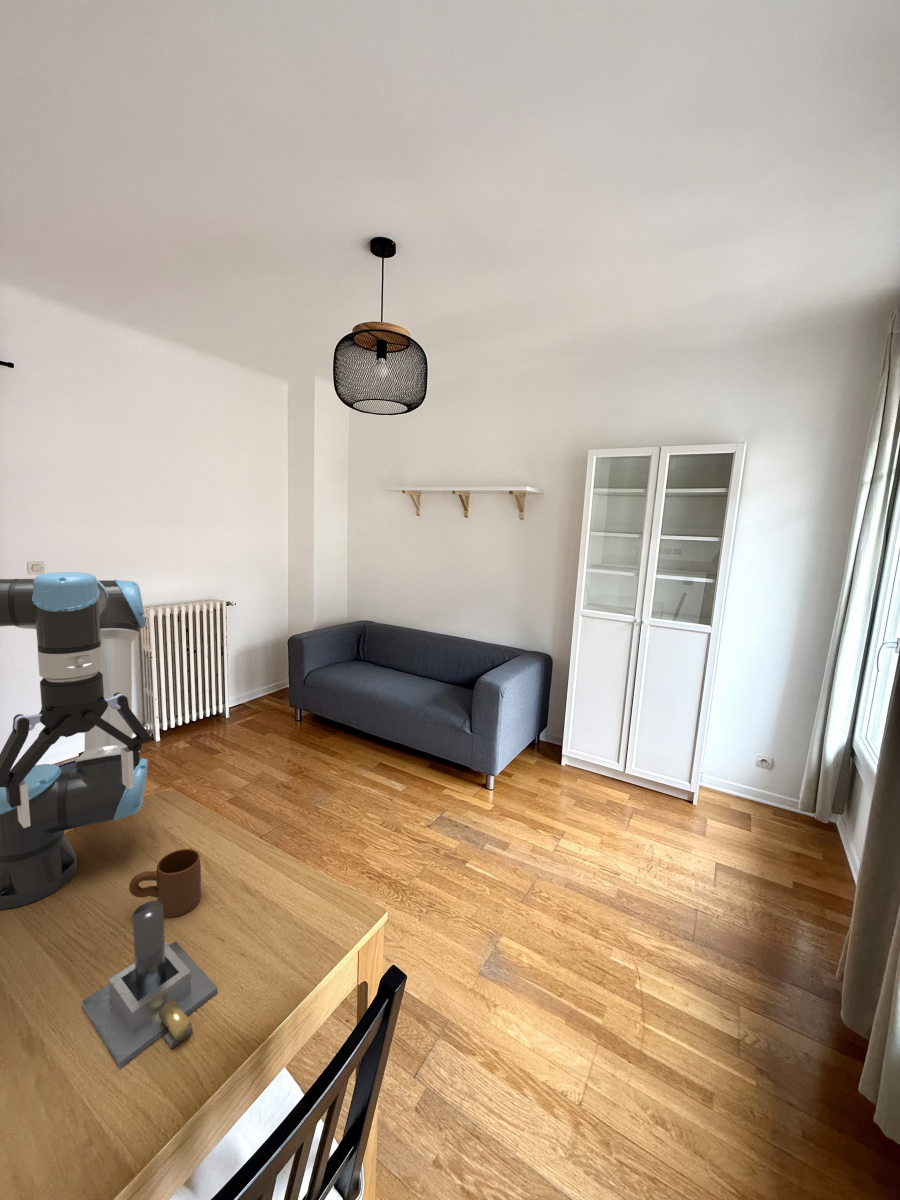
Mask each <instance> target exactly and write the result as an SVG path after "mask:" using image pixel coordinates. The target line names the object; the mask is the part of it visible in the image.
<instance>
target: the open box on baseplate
mask: <svg viewBox="0 0 900 1200" xmlns="http://www.w3.org/2000/svg"><path fill="white" fill-rule="evenodd" d="M165 970H166V982H165V983H163V984H162V985H161V986H159V987H158V988H156V989H155V990H153V991H152V992H151V993H149V994H148V995H146V996H145V997H143V998H142V999H140V1000H139V1001H137V997H136V975H135V962H134V963H132V964H130V965H129V966H127V967H126V968H124V969H123V970H121V971H119V972H117V973H116V974H115V975H113V976H111V977H110V978H109V979H108V984H106V985H105V986H102V988H100V989H99V990H97V991H95V992H94V993H92V994H90V995H89V996H88V997H86V998H84V999H83V1000H81V1007H82V1009H83V1010H84V1012H85V1013H86V1015H87V1017H88V1018H89V1019H90V1021H91V1023H92V1025H93V1027H94V1028H95V1030H96V1032H97V1033H98V1035H99V1037H100V1038H101V1040H102V1042H103V1043H104V1046H105V1047H106V1049H107V1050H108V1052H109V1053H110V1055H111V1057H112V1058H113V1060H114V1062H115V1063H116V1065H117V1067H118V1069H122V1068H123V1067H124V1066H125V1065H127V1064H128V1063H129V1062H131V1061H132V1060H133V1059H134V1058H136V1057H137V1056H138V1055H139V1054H141V1053H142V1052H143V1051H144V1050H145V1049H147V1048H148V1047H150V1046H151V1045H152V1044H154V1043H155V1042H156V1041H157V1040H159V1039H160V1038H161V1037H163V1036H164V1041H165V1042H166V1045H168V1046H169V1048H170V1049H171V1050H173V1049H174V1048H175V1047H177V1046H178V1045H179V1044H180V1043H181V1042H182V1041H183V1040H186V1039H187V1038H188V1037H189V1036H190V1035H192V1033H193V1026H192V1025H193V1023H192V1021H191V1019H190V1018H189V1017H188V1016H189V1015H191V1014H192V1013H193V1012H194V1011H196V1010H197V1009H199V1008H200V1007H201V1006H203V1004H205V1003H206V1002H207V1001H209V1000H210V999H211V998H213V997H214V996H215V995H217V994H218V986H217V985H216V984H215V983H214V982H213V981H212V980H211V979H210V977H209V976H208V975H207V974H206V973H205V972H204V970H202V969H201V967H200V966H199V965H198V964H197V963H196V962H195V961H194V959H192V957H191V956H190V955H189V954H188V953H187V951H185V950H184V948H183V947H182V946H181V945H180V944H179V943H178V942H177V941H176V940H175V941H173V942H171V943H170V944H168V943H166V942H165Z"/></svg>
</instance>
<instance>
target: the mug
mask: <svg viewBox="0 0 900 1200" xmlns="http://www.w3.org/2000/svg"><path fill="white" fill-rule="evenodd" d="M200 857H201V856H200V853H199V852H198V851H196V850H195V849H192V848H181V849H176V850H174V851H172V852H169V853H167V854H166V855H164V856H163V857H162V858H161V859H160V860H159V862H158V863H157V864H156V870H153V871H152V870H146V871H145V870H144V871H142V872H139V873H137V874H136V875H135V876H134V877H132V878H131V880H130V883H129V885H128V890H129V893H130V894H131V895H132V896H134V897H136V898H141V899H142V898H146V897H153V898H157V899H156V901H159V902H161V903H162V904H163V913H164V917H170V918H171V917H172V918H174V917H178V916H181V915H184V914H186V913H188V912H190V911H192V910H193V909H194V908H195V907H196V906H197V905H198V903H199V902H200V899H201V895H202V872H201V870H202V869H201V868H202V867H201V866H202V865H201V859H200ZM144 881H147V882H148V881H151V882H153V881H155V882H156V885H149V886H145V887H142V886H140V883H141V882H144Z"/></svg>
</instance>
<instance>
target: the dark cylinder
mask: <svg viewBox="0 0 900 1200" xmlns="http://www.w3.org/2000/svg"><path fill="white" fill-rule="evenodd" d="M132 926H133V928H132V930H133V931H132V932H133V947H134V948H133V949H134V950H133V951H134V963H135V975H136V997H137V1001H139V1000H140V999H142V998H143V997H145V996H146V995H148V994H149V993H151V992H152V991H153V990H155V989H156V988H158V987H159V986H161V985H162V984H163V983H165V982H166V970H165V943H166V942H165V916H164V913H163V904H162V903H161V902H159V901H157V900H151V901H147V902H145V903H142V904H141V905H139V906H138V907H136V909H135V910H134V911H133V913H132Z"/></svg>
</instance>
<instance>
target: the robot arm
mask: <svg viewBox="0 0 900 1200" xmlns="http://www.w3.org/2000/svg"><path fill="white" fill-rule="evenodd" d="M146 623H147V622H146V616H145V609H144V605H143V599H142V594H141V589H140V586H139V584H138V583H137V582H135V581H133V580H118V579H113V580H112V579H111V580H109V579H108V580H107V579H105V580H98V579H97V577H96V575H94V574H92V573H87V572H80V571H79V572H77V571H64V572H63V571H59V572H55V571H54V572H48V573H41V574H38V575H36V576H35V577H34V578H0V627H17V628H20V629H27V630H28V629H32V630H33V629H34V630H35V631H36V641H37V642H36V644H37V660H38V675H39V676H40V677H41V680H40V681H39V686H40V687H39V689H40V702H41V708H40V711H39V713H38V714H31V715H30V714H29V715H24V714H22V713H18V714H16V715H15V716H13V720H12V730H11V732H10V734H9V736H8V738H7V740H6V742H5V744H4V746H3V748H2V749H1V751H0V910H6V909H7V910H8V909H13V908H17V907H18V908H19V907H22V906H23V907H24V906H25V905H29V904H32V903H34V902H37V901H39V900H42V899H43V898H46V897H48V896H49V895H51V894H53V893H55V892H56V891H58V890H59V889H61V888H62V887H64V886H65V885H66V884H67V883H68V882H69V881H70V880H71V879H72V878H73V877H74V875H75V874H76V872H77V870H78V869H77V868H78V859H77V854H76V852H75V850H74V849H73V847H72V845H71V843H70V842H69V840H68V839H67V837H66V835H65V831H67V830H74V829H77V828H82V827H88V826H91V825H92V826H93V825H97V824H101V823H102V824H103V823H105V822H111V821H113V822H114V821H115V822H116V821H117V820H120V819H124V818H128V817H132V816H135V815H136V814H137V813H138V812H140V810H141V808H142V806H143V802H144V797H145V791H146V784H147V777H148V765H149V760H148V759H147V758H144V757H142V758H141V750H142V747H143V746H142V745H144V744H145V743H150V742H151V740H152V737H151V735H150V734H149V733H148V731H147V730H146V728H145V727H144V725H143V724H142V723H141V722H140V720H139V719H138V718H137V716H136V715H135V713H134V712H133V696H132V695H133V691H132V689H133V684H132V682H133V681H132V680H133V679H132V677H133V675H132V672H133V671H132V670H133V669H132V665H133V663H132V662H133V659H132V655H133V654H132V652H133V651H132V643H133V641H134V640H136V639H137V638H138V637H139V636H140V629H143V628H146V627H147V624H146ZM40 723H41V725H43V726H44V727H43V728H42V730H41V731H40V732H39V733H38V736H37V738H36V739H35V740H34V741H33V743H32V744H31V745H30V746H29V747H28V748H27V750H26V751H25V752H24V754H23V755H22V756H21V757H20V758H19V759H18V756H19V754H20V753H21V750H22V748H23V746H24V744H25V743H26V740H27V738H28V735H29V732H31V731H33V730H34V729H35V727H36V725H37V724H40ZM80 733H81V734H82V733H84V751H83V753H81V755H80V756H79V757H78V758H77V759H76V760H75V766H74V769H73V770H67V771H62V770H61V768H60V766H59V765H57V764H55V763H52V764H50V763H41V764H38V763H39V761H40V760H41V759H42V757H44V755H45V754H46V752H48V750H49V749H50V748H51V746H52V745H55V744H56V742H58V740H59V739H60V738H61V737H65V738H69V737H72V736H74V735H77V734H80ZM133 733H134V735H135V736H134V737H133ZM17 759H18V761H17V762H16V760H17ZM15 762H16V763H15Z"/></svg>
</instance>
